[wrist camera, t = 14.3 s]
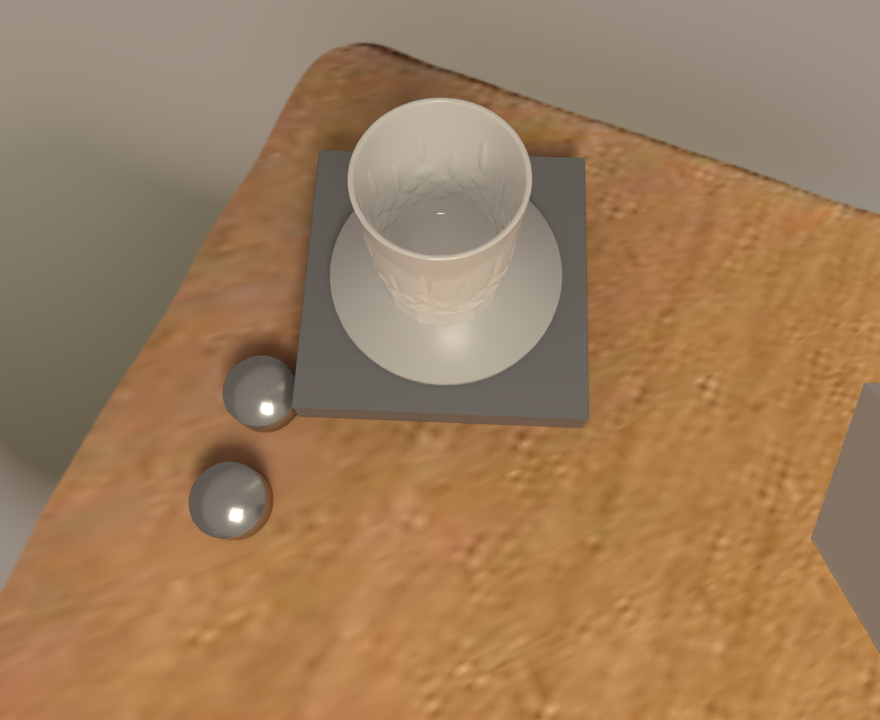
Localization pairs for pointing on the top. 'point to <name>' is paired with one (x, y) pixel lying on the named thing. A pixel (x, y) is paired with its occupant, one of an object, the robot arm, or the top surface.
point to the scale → (455, 347)
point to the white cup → (440, 205)
